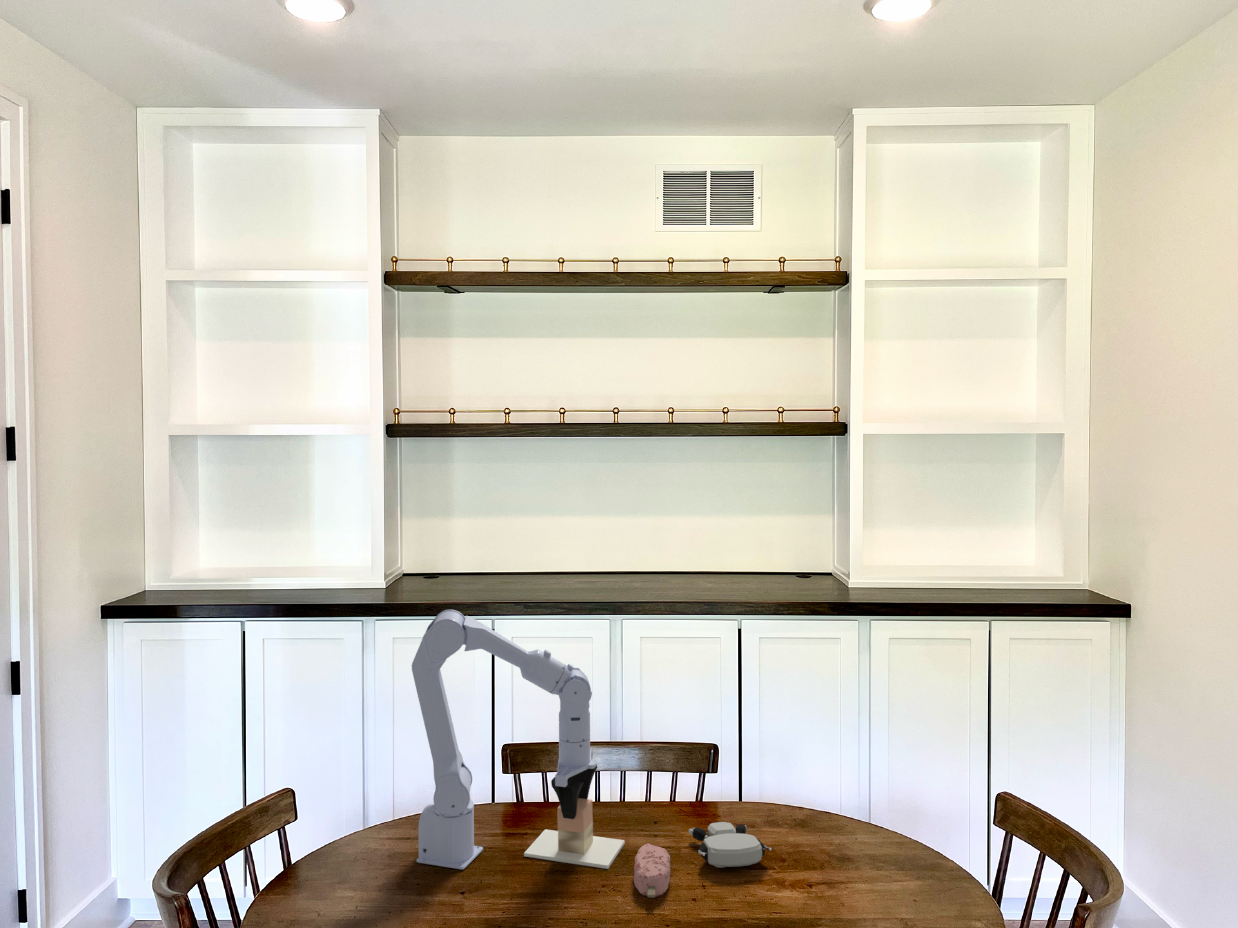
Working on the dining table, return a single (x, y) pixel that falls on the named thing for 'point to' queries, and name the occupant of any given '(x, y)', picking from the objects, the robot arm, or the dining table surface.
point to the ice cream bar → (652, 870)
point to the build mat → (595, 856)
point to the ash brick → (575, 840)
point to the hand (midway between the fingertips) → (574, 810)
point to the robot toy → (728, 845)
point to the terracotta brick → (577, 817)
